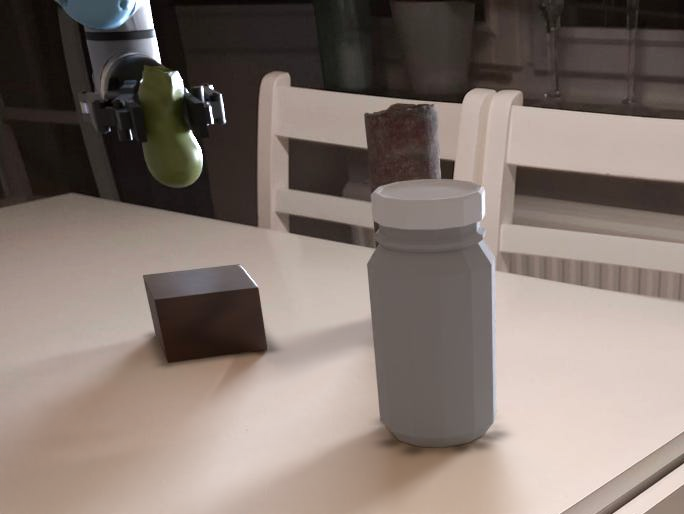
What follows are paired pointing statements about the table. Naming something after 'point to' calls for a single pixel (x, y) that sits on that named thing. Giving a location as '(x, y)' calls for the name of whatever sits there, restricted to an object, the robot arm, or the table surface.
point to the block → (205, 312)
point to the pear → (167, 129)
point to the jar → (433, 312)
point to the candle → (402, 145)
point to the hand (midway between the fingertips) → (171, 122)
